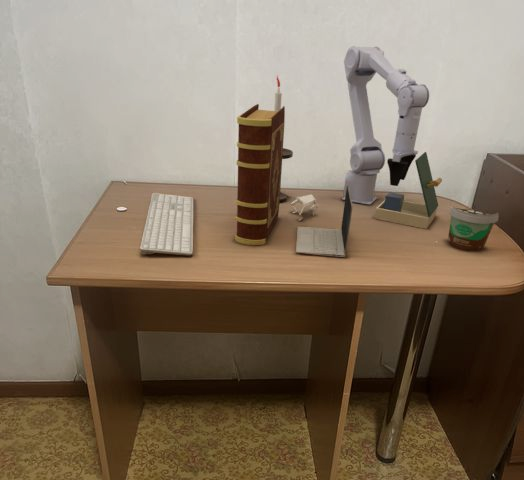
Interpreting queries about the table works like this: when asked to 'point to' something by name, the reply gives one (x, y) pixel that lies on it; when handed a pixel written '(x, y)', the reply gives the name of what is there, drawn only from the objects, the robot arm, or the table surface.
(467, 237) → the food container
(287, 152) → the candlestick
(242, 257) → the table surface
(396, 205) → the block
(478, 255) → the table surface
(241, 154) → the decorative book
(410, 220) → the tan tray
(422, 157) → the box lid
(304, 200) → the origami figure
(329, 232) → the laptop
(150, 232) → the keyboard
